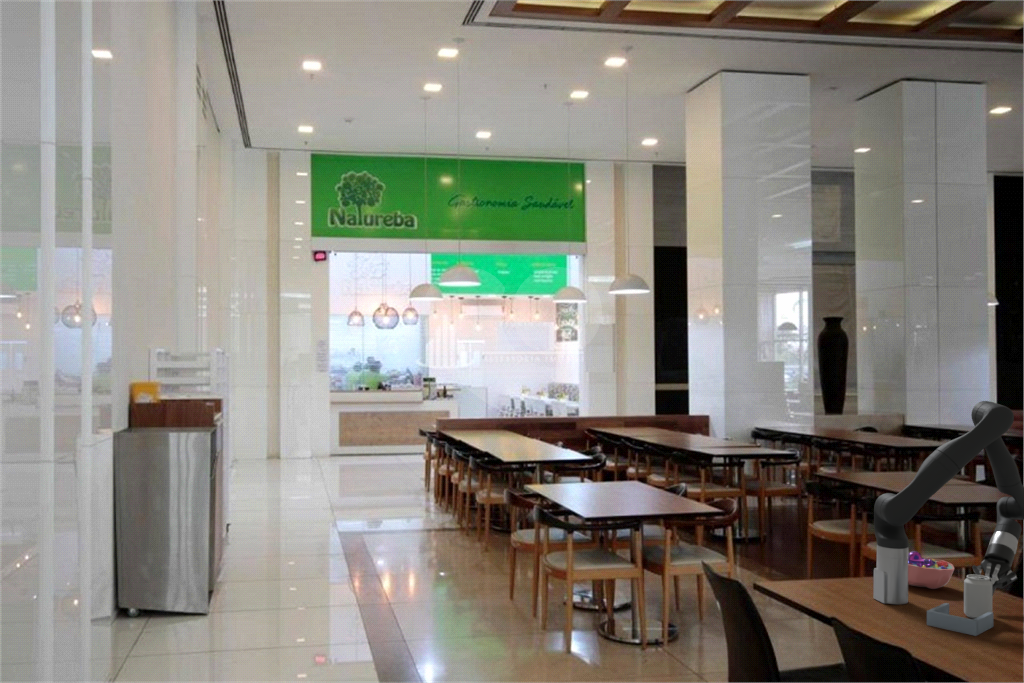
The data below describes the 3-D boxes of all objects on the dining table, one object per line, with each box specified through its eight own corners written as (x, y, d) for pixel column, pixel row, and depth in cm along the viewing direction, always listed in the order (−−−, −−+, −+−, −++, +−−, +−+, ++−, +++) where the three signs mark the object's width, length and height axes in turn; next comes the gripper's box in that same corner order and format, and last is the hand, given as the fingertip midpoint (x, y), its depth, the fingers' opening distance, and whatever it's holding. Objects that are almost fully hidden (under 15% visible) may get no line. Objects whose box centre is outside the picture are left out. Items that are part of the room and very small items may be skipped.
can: (995, 621, 267) (995, 580, 267) (967, 619, 269) (968, 578, 269) (987, 614, 274) (988, 574, 275) (960, 612, 276) (960, 572, 276)
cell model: (932, 597, 293) (932, 561, 293) (881, 583, 311) (881, 549, 311) (967, 591, 301) (967, 556, 301) (915, 577, 319) (915, 544, 319)
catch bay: (945, 616, 272) (945, 602, 272) (993, 626, 262) (993, 612, 262) (926, 624, 263) (926, 610, 263) (975, 635, 253) (976, 621, 253)
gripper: (975, 539, 288) (960, 584, 279) (1021, 546, 278) (1006, 593, 270) (982, 553, 291) (966, 599, 283) (1027, 561, 282) (1013, 608, 273)
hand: (986, 596), depth 276 cm, fingers closed
